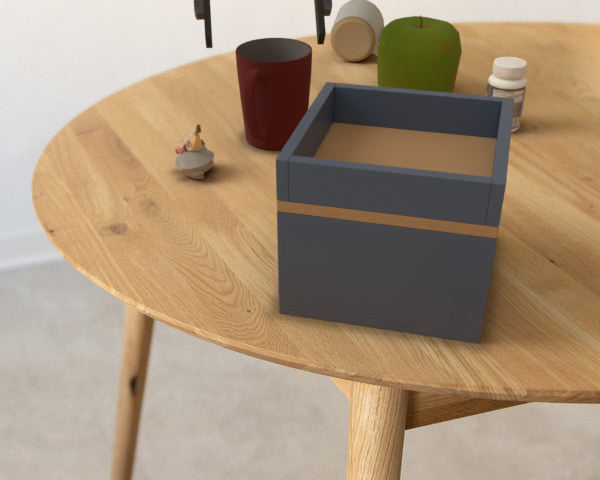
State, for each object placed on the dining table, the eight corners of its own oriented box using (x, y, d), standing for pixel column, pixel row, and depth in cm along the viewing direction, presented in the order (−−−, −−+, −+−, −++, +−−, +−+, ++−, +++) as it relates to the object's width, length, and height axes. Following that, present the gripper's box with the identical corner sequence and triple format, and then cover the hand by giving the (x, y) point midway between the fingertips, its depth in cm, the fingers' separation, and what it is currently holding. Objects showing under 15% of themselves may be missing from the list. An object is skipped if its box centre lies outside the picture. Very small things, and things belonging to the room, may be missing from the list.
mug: (286, 169, 90) (284, 75, 83) (216, 157, 92) (210, 65, 86) (321, 129, 99) (322, 42, 93) (257, 120, 102) (254, 34, 95)
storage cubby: (491, 239, 77) (514, 98, 69) (479, 344, 64) (506, 184, 55) (323, 218, 81) (326, 81, 72) (279, 313, 67) (275, 159, 59)
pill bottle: (485, 117, 102) (494, 53, 97) (522, 122, 101) (533, 57, 96) (478, 130, 99) (487, 65, 94) (515, 136, 97) (527, 70, 92)
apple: (373, 108, 105) (377, 26, 98) (376, 80, 113) (380, 3, 107) (457, 112, 103) (467, 29, 97) (454, 83, 112) (463, 5, 106)
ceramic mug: (327, 62, 119) (329, 11, 115) (335, 46, 126) (337, -4, 121) (397, 67, 118) (401, 15, 113) (401, 50, 124) (405, 0, 120)
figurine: (204, 186, 86) (200, 136, 83) (168, 180, 88) (162, 130, 84) (222, 166, 91) (219, 117, 87) (188, 161, 92) (183, 112, 88)
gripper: (350, -100, 102) (363, 52, 99) (158, -96, 100) (164, 58, 97) (358, -141, 95) (372, 21, 91) (150, -138, 93) (157, 28, 89)
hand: (265, 41), depth 94 cm, fingers open, 13 cm apart
